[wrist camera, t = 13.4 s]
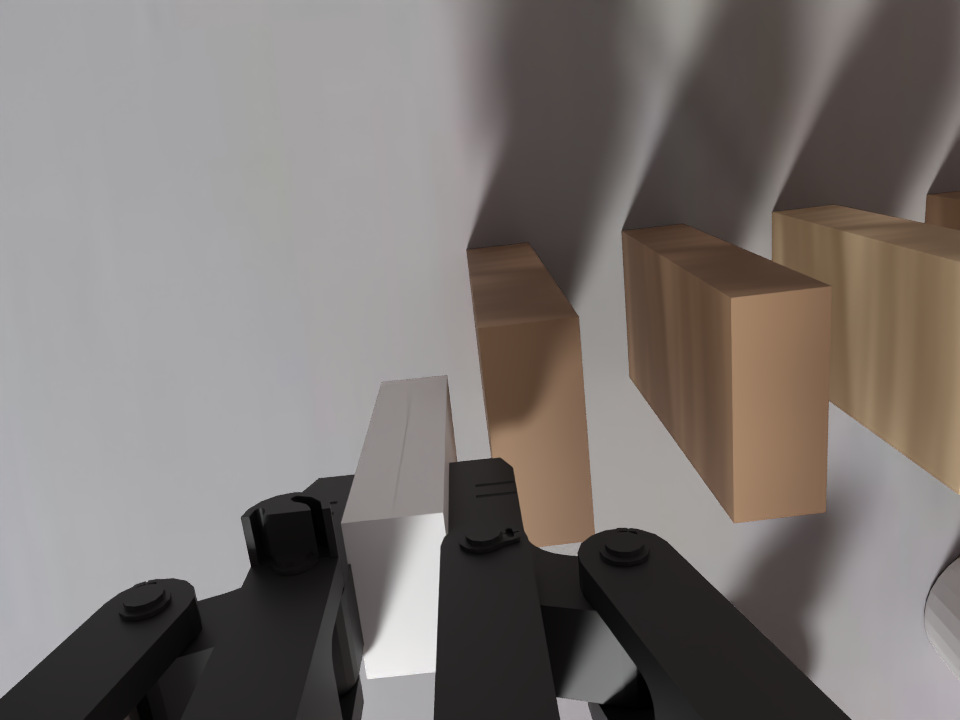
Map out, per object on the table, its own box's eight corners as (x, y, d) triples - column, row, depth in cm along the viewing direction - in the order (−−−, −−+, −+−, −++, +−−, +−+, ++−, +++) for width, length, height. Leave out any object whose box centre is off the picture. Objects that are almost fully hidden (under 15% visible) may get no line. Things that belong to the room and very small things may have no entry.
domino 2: (629, 377, 26) (734, 523, 17) (621, 230, 25) (730, 297, 15) (687, 370, 26) (825, 512, 17) (683, 223, 25) (831, 286, 15)
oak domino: (772, 359, 26) (958, 494, 17) (771, 212, 25) (977, 266, 15) (830, 352, 26) (1050, 483, 17) (833, 204, 25) (1077, 254, 15)
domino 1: (483, 395, 26) (503, 551, 17) (466, 249, 25) (477, 327, 15) (541, 388, 26) (595, 540, 17) (528, 242, 25) (578, 316, 15)
